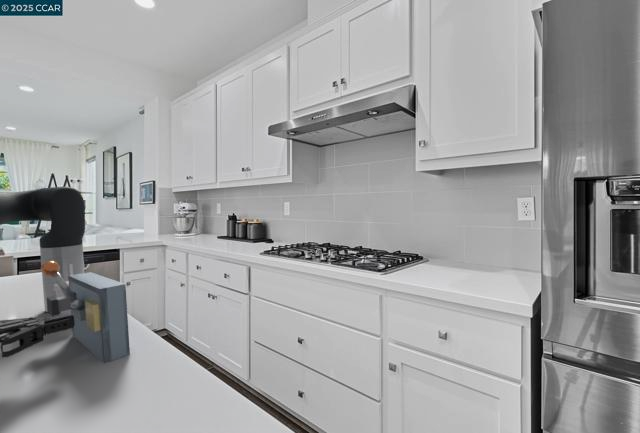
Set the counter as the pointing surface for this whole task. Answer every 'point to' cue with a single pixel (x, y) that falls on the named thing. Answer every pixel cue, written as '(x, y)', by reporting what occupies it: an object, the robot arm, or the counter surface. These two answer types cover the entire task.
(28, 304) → the counter surface
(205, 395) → the counter surface
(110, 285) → the block
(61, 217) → the robot arm
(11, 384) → the counter surface
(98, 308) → the tan square block
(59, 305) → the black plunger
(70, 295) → the lever
